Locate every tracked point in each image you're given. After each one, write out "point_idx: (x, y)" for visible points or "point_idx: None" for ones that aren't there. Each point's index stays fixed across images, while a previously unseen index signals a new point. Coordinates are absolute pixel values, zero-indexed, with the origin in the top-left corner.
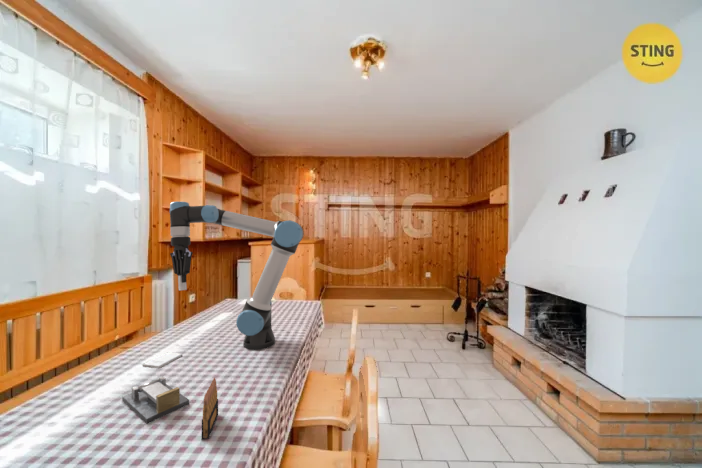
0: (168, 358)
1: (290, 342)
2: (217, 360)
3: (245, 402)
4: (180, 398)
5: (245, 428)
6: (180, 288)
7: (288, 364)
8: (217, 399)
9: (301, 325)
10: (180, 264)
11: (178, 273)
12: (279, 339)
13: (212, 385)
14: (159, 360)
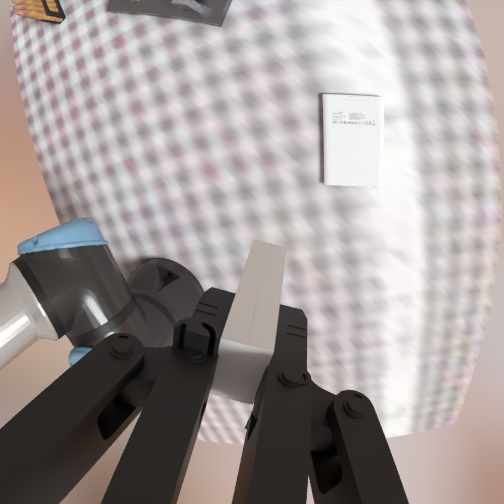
0: (338, 145)
1: None
2: (195, 180)
3: (44, 66)
4: (124, 4)
5: (24, 30)
6: (252, 248)
7: (55, 207)
8: (40, 19)
9: None
10: (148, 500)
11: (265, 380)
12: None
13: (13, 2)
14: (355, 128)
